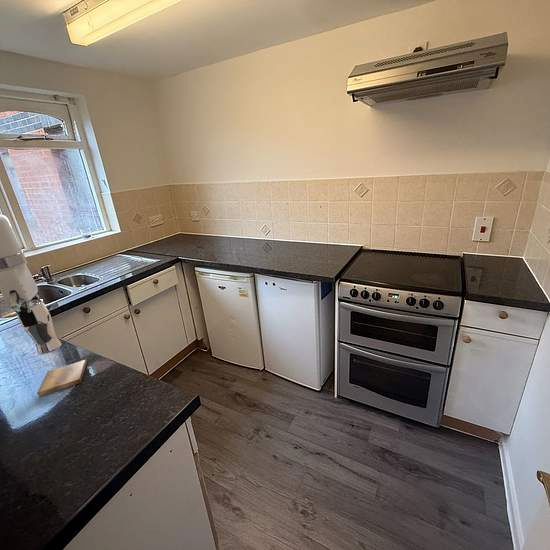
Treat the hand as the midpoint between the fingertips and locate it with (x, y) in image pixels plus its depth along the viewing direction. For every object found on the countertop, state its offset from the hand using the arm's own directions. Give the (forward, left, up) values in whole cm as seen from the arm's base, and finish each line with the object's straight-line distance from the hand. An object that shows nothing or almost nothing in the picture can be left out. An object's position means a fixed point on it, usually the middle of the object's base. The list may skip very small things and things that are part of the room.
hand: (35, 319), depth 86 cm
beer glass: (0, 0, -10) cm, 10 cm away
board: (0, 0, -22) cm, 22 cm away
